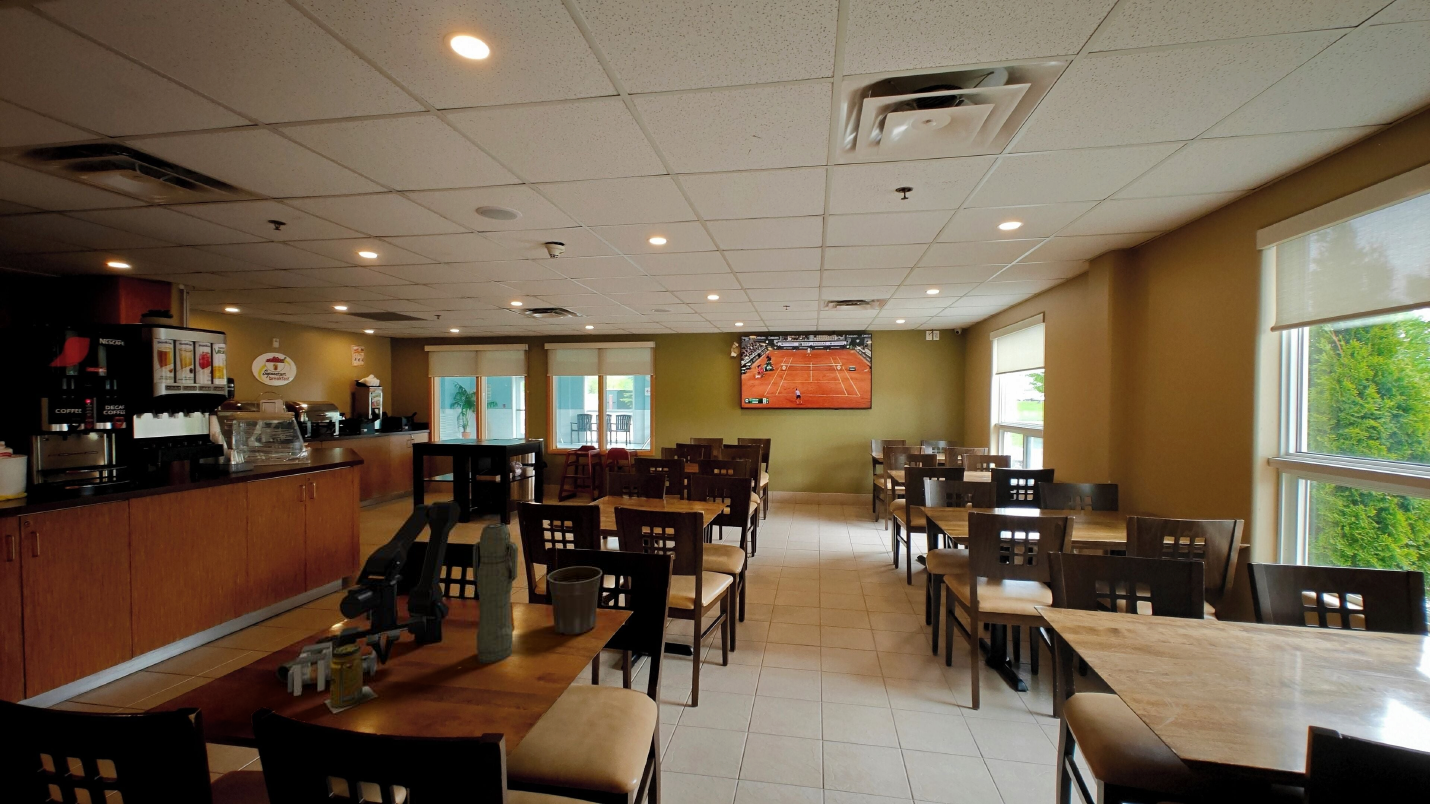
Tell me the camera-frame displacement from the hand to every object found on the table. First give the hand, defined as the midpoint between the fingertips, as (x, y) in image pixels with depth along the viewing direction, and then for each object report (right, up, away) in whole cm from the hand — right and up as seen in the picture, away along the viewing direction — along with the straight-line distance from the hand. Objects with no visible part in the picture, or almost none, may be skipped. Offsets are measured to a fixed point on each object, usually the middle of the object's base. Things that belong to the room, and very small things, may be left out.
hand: (383, 664), depth 131 cm
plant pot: (+42, -2, +25) cm, 49 cm away
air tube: (-9, -1, -5) cm, 10 cm away
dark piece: (-19, -2, +3) cm, 20 cm away
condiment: (+1, -1, -14) cm, 14 cm away
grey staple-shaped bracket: (-13, -1, -7) cm, 14 cm away
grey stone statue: (+25, -2, +8) cm, 26 cm away
